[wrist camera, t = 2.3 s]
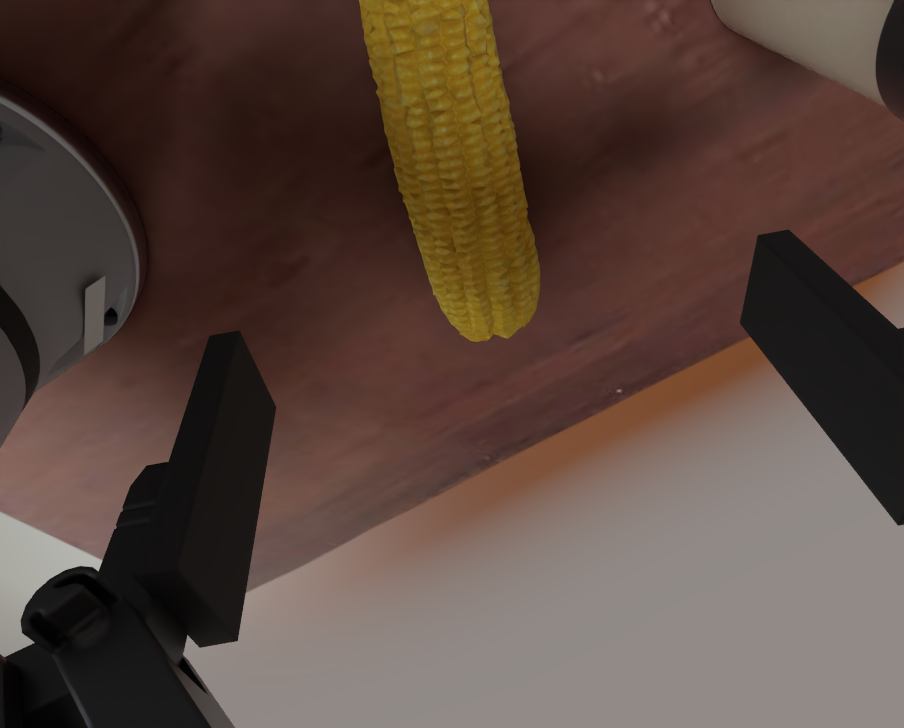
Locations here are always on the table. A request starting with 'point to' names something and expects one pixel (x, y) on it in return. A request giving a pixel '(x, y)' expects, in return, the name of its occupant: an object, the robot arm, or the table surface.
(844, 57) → the pepper mill
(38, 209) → the robot arm
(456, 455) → the table surface
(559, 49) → the table surface
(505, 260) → the food
